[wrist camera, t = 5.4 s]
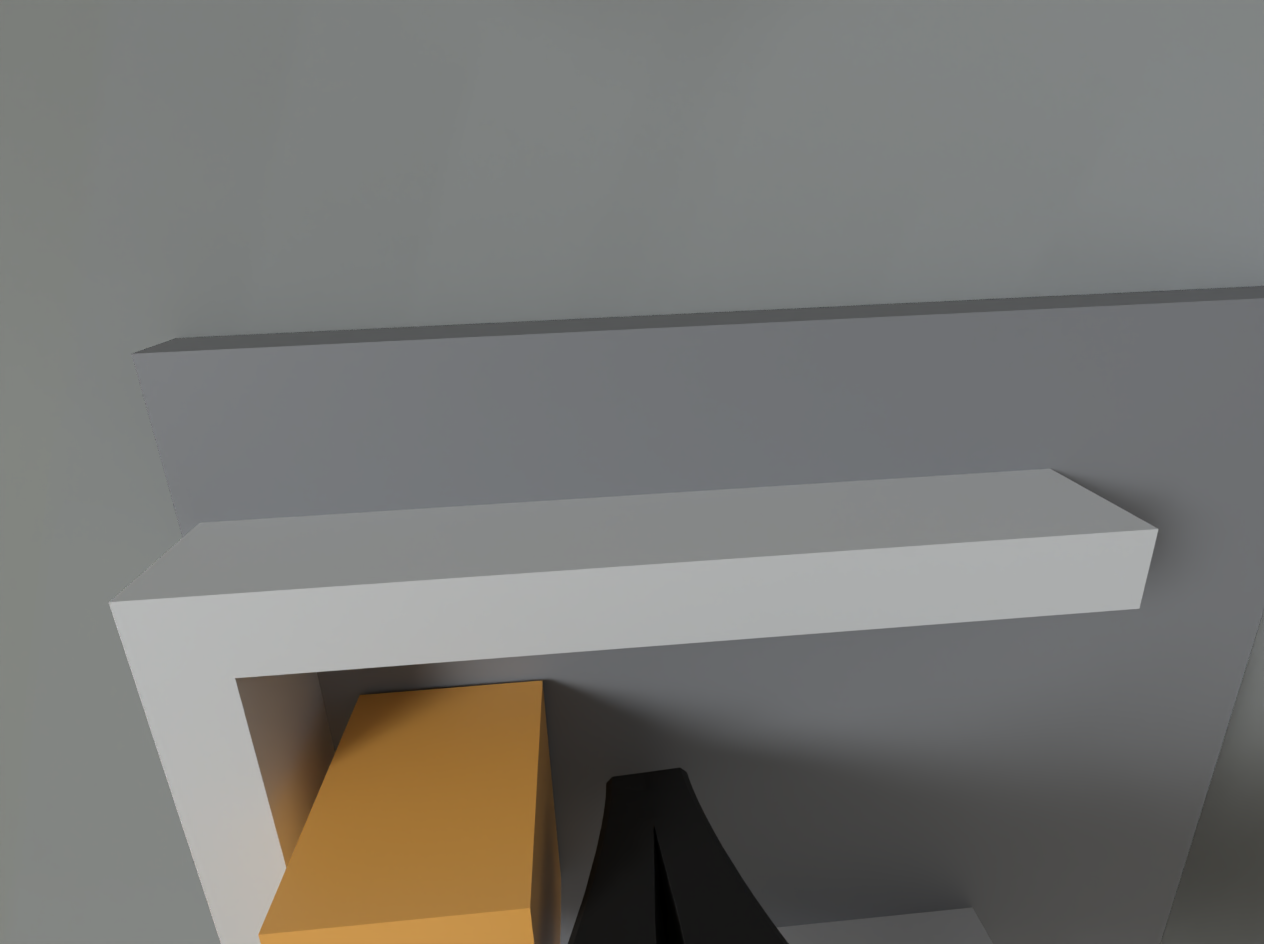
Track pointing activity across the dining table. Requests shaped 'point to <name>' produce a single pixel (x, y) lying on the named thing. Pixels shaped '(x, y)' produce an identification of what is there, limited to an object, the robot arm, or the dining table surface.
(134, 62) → the dining table surface
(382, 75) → the dining table surface
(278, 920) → the block
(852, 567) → the grey tray
